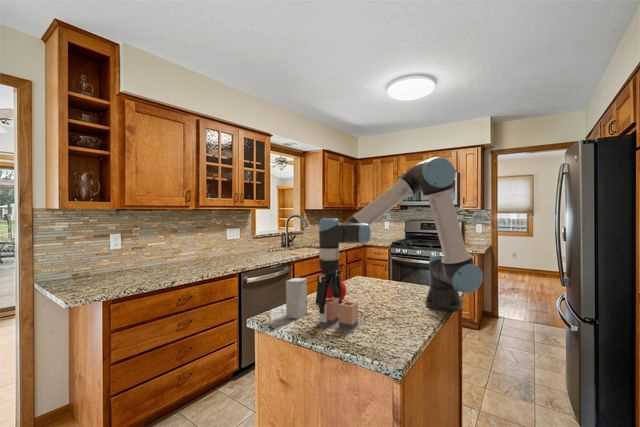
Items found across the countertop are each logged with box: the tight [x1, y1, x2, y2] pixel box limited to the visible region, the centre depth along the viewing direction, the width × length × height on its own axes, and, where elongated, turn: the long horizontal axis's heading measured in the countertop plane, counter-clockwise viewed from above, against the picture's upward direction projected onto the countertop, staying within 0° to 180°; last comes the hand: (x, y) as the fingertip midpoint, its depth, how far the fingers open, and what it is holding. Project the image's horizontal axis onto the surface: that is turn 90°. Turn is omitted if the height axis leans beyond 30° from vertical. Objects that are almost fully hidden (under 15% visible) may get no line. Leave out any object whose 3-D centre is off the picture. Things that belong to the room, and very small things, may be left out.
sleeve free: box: [321, 298, 340, 325], centre depth 118 cm, size 5×5×8 cm
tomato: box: [327, 280, 347, 302], centre depth 146 cm, size 12×12×10 cm
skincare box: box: [285, 277, 308, 320], centre depth 127 cm, size 8×6×15 cm
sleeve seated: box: [339, 300, 359, 329], centre depth 114 cm, size 5×5×8 cm
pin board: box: [313, 319, 365, 334], centre depth 116 cm, size 16×11×6 cm
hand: (329, 317), depth 118 cm, fingers open, 9 cm apart
